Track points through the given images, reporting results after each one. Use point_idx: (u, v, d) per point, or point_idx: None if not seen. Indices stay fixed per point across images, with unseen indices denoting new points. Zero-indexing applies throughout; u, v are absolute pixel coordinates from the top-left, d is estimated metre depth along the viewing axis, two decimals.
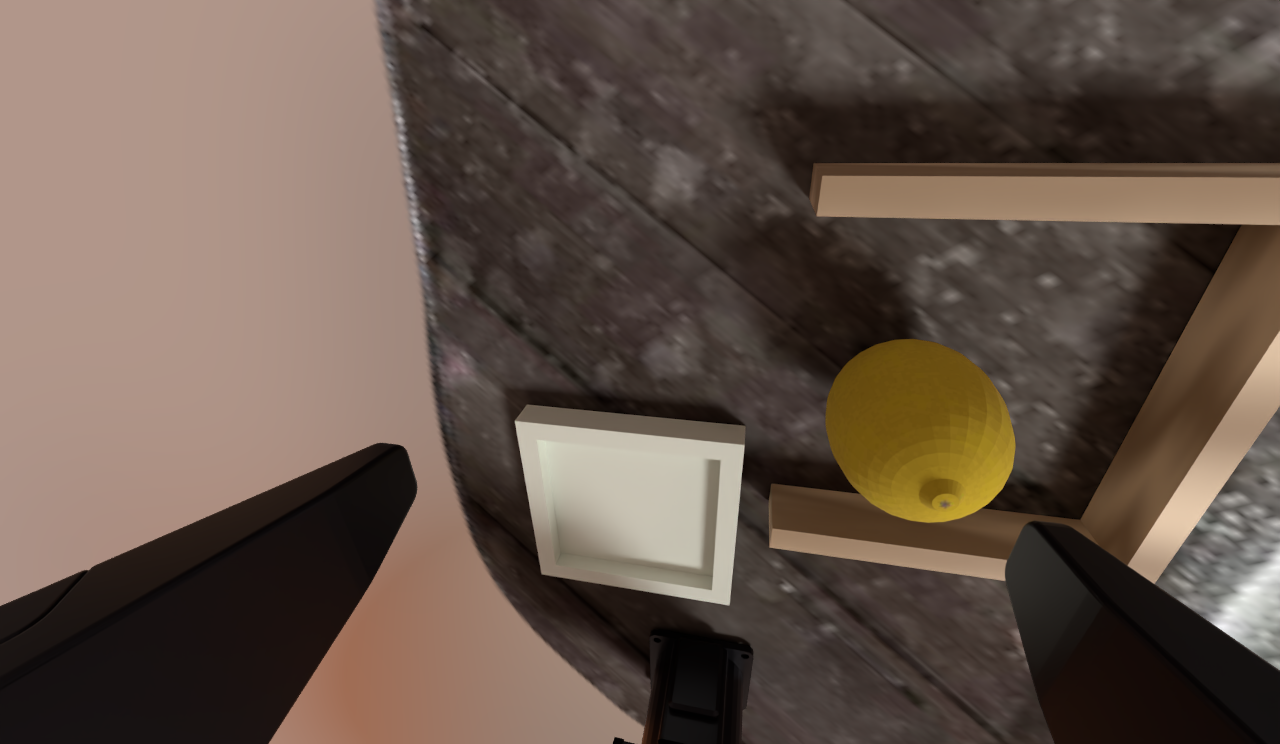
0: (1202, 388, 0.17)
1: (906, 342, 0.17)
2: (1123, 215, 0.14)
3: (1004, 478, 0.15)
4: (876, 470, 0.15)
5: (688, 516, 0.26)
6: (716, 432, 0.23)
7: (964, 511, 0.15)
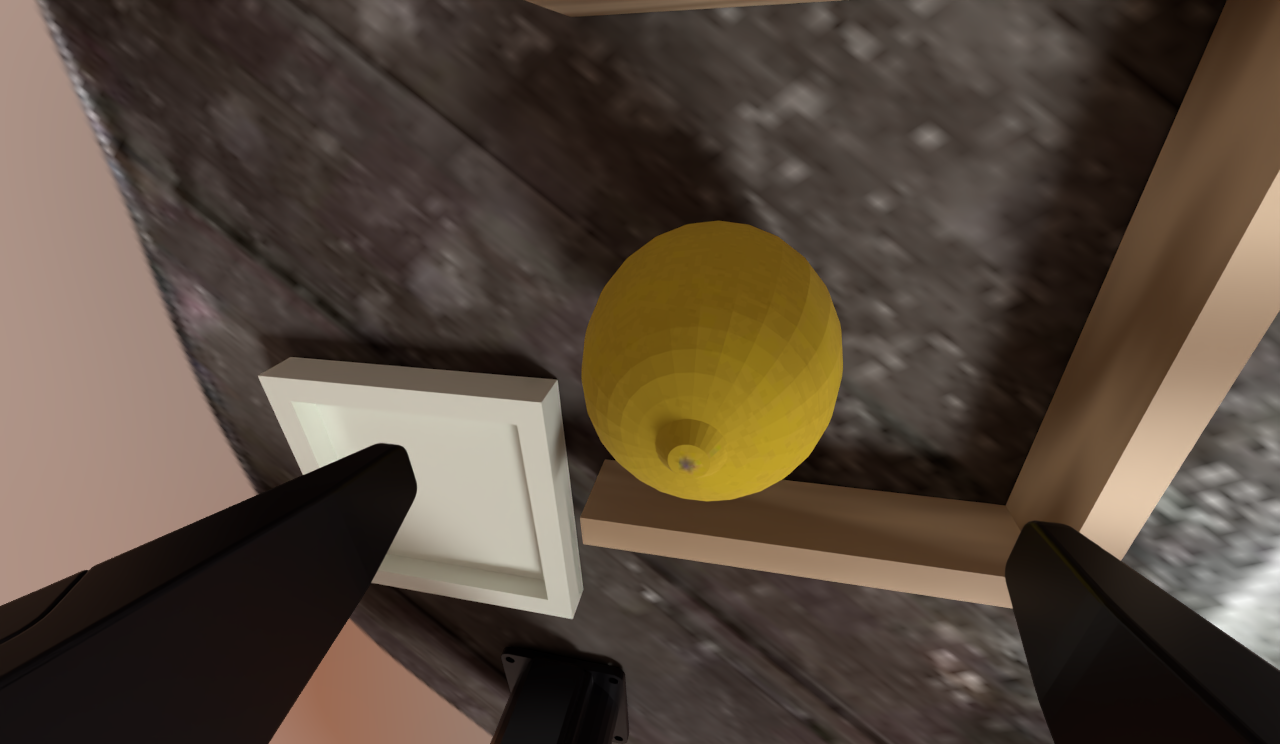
0: (1160, 291, 0.11)
1: None
2: None
3: (805, 421, 0.09)
4: (603, 412, 0.09)
5: (508, 504, 0.20)
6: (513, 387, 0.17)
7: (740, 480, 0.09)
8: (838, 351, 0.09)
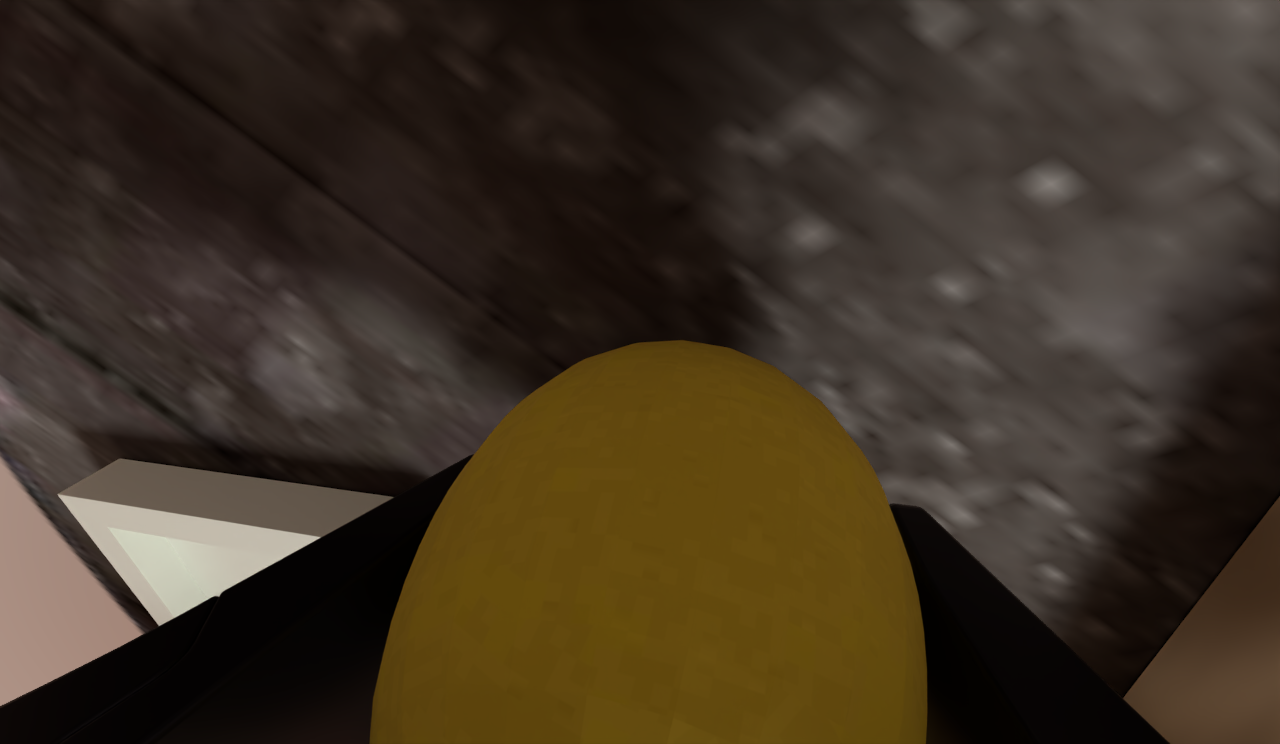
0: None
1: (638, 351, 0.06)
2: None
3: None
4: None
5: None
6: None
7: None
8: (926, 690, 0.04)
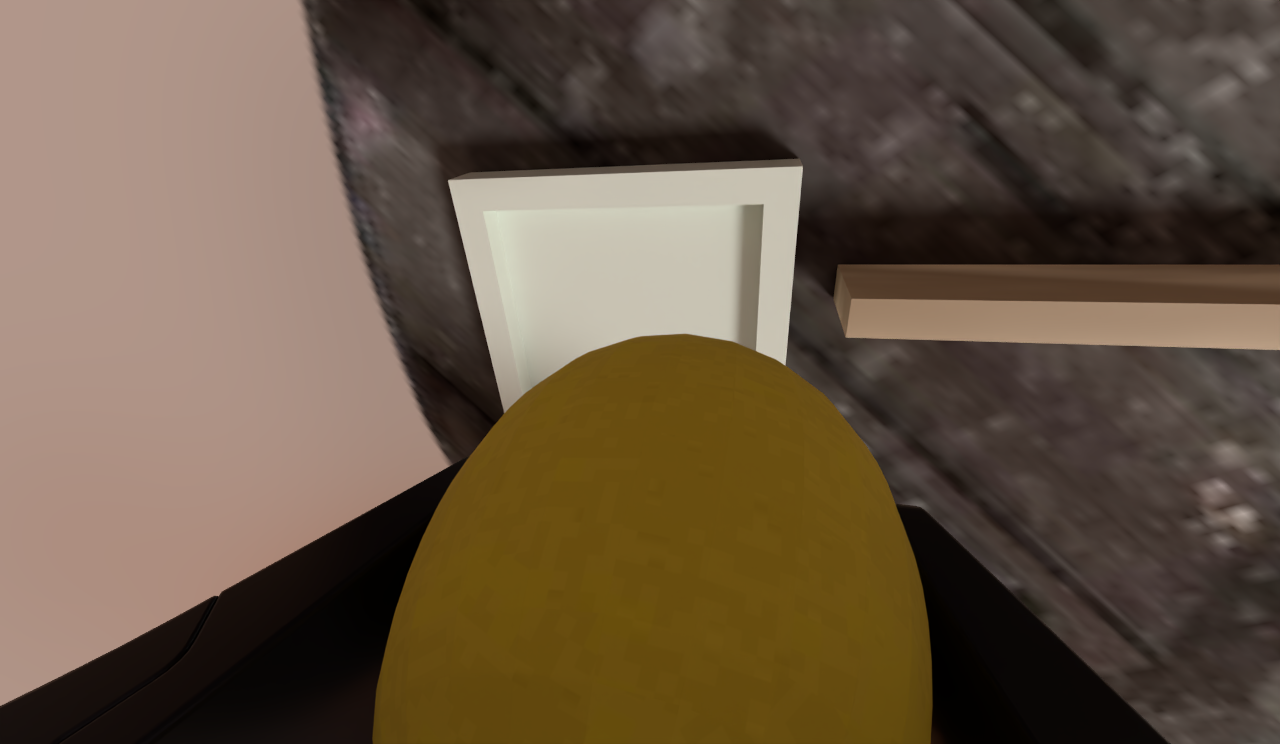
0: None
1: (641, 343, 0.06)
2: None
3: None
4: None
5: (713, 333, 0.18)
6: (755, 164, 0.15)
7: None
8: (931, 681, 0.04)
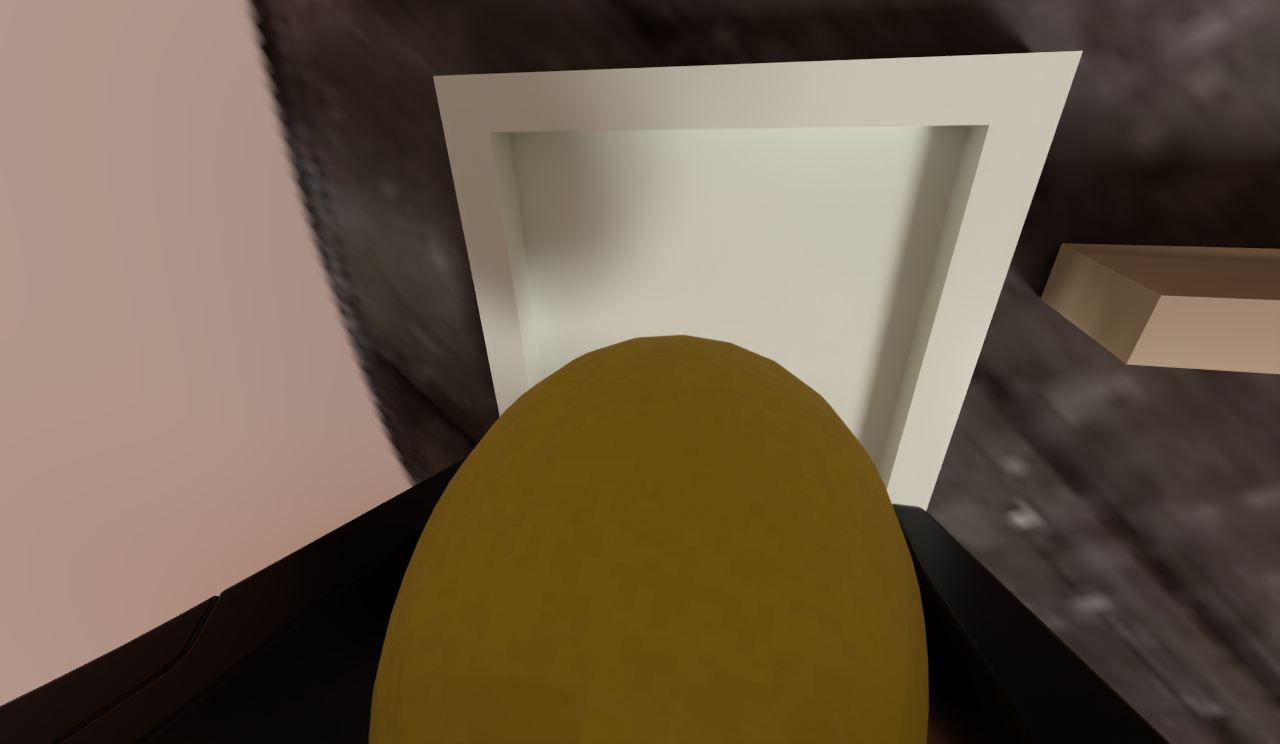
0: None
1: (638, 345, 0.06)
2: None
3: None
4: None
5: (839, 347, 0.12)
6: None
7: None
8: (927, 682, 0.04)
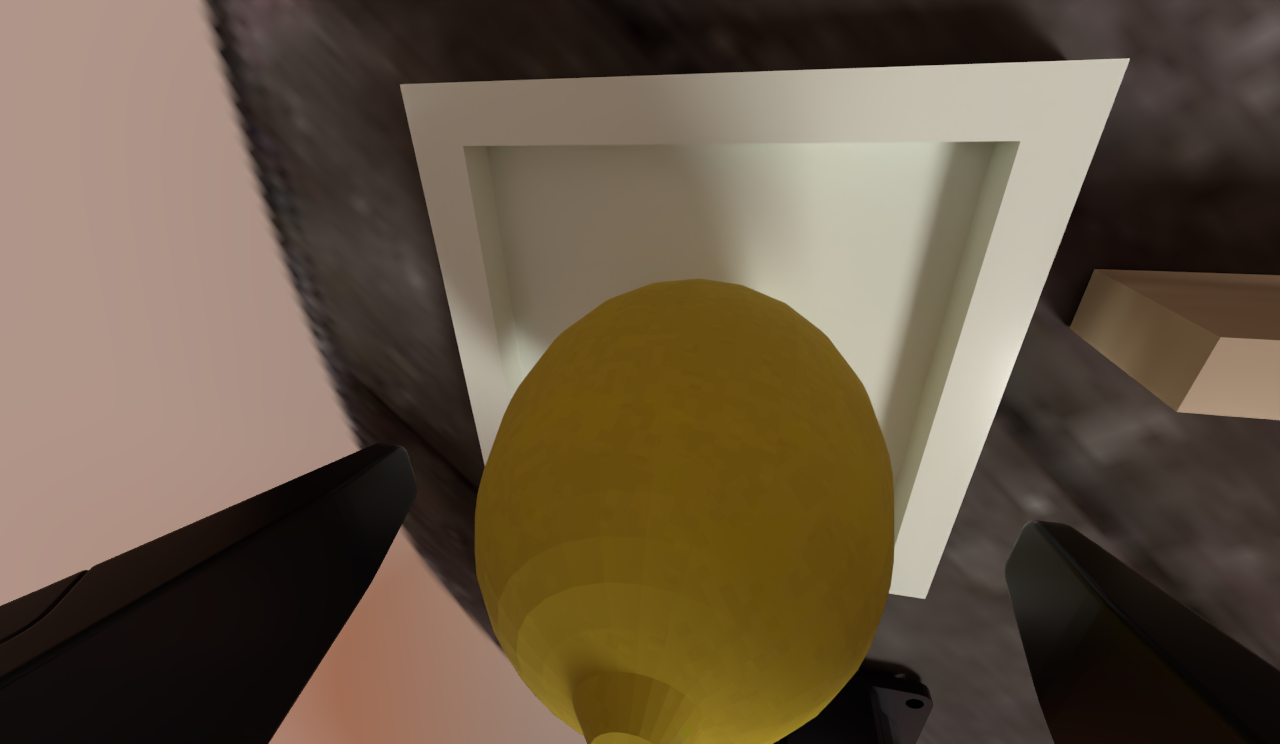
0: None
1: (668, 281, 0.07)
2: None
3: (847, 654, 0.05)
4: (492, 614, 0.05)
5: None
6: None
7: None
8: (893, 503, 0.06)
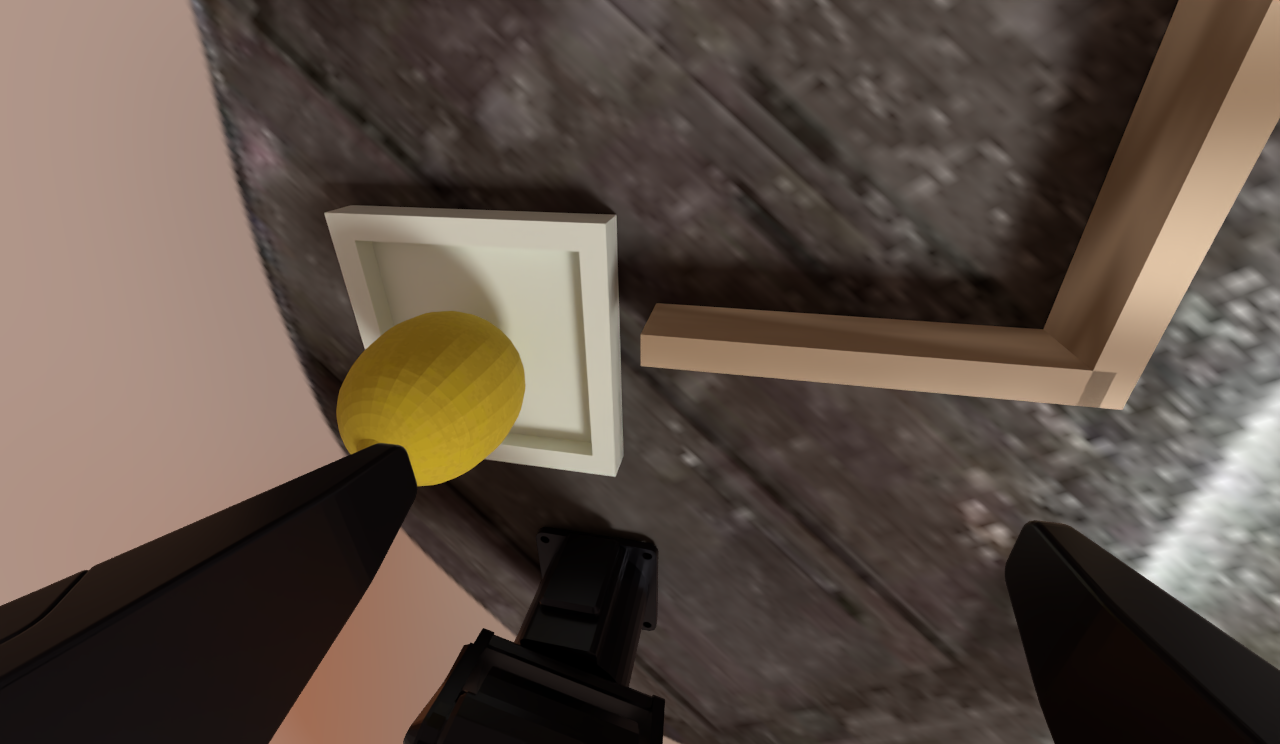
0: (1208, 51, 0.12)
1: (430, 313, 0.18)
2: None
3: (445, 440, 0.15)
4: (340, 433, 0.16)
5: (558, 355, 0.21)
6: (575, 217, 0.18)
7: None
8: (483, 398, 0.16)
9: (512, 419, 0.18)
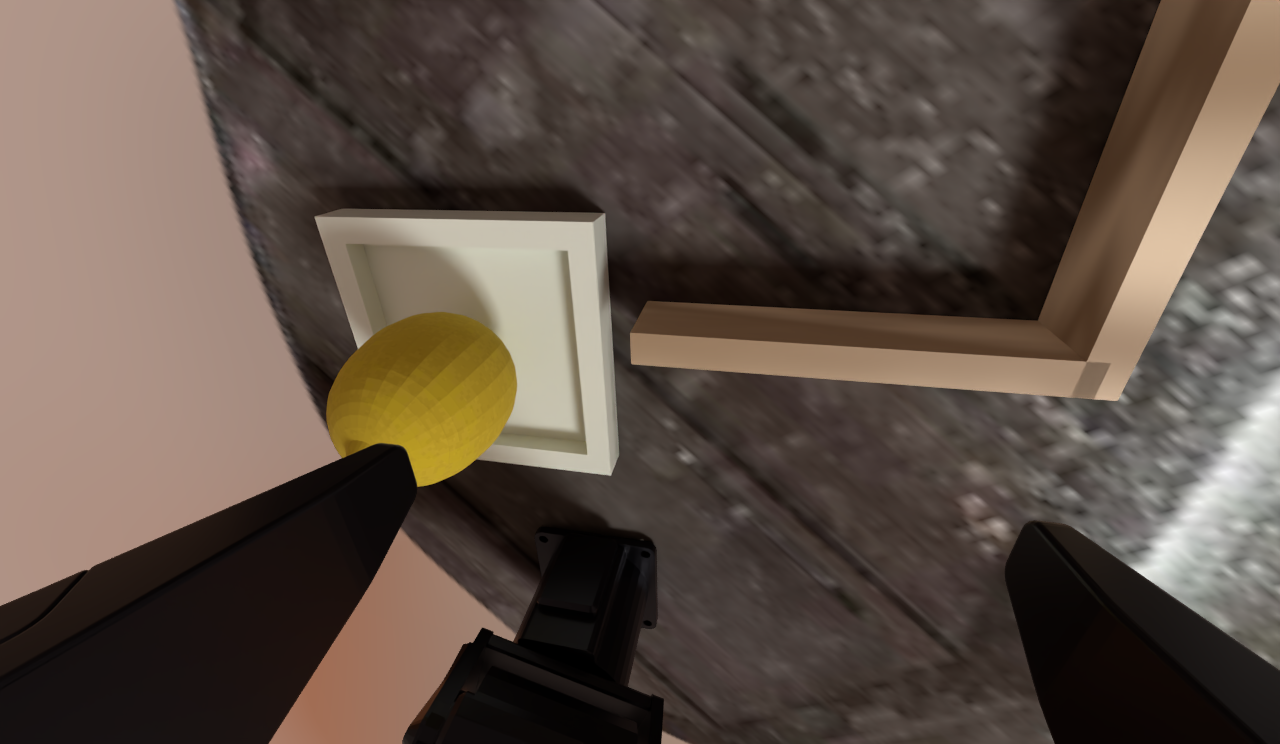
0: (1196, 33, 0.12)
1: (420, 314, 0.18)
2: None
3: (433, 441, 0.15)
4: (330, 435, 0.16)
5: (551, 355, 0.21)
6: (563, 216, 0.18)
7: None
8: (472, 398, 0.16)
9: (503, 419, 0.18)
